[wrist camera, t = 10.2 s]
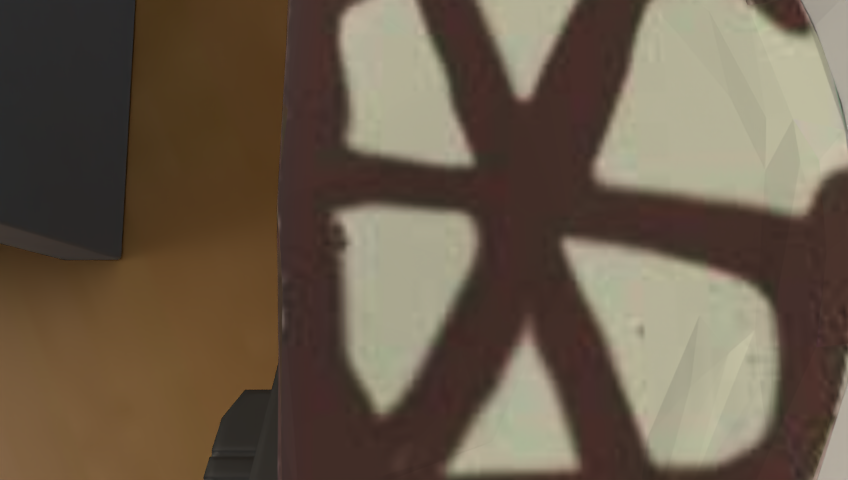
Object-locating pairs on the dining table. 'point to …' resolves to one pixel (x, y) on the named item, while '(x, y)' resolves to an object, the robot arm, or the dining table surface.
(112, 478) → the dining table surface
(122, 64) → the blue toy chair
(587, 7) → the food container
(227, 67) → the dining table surface
